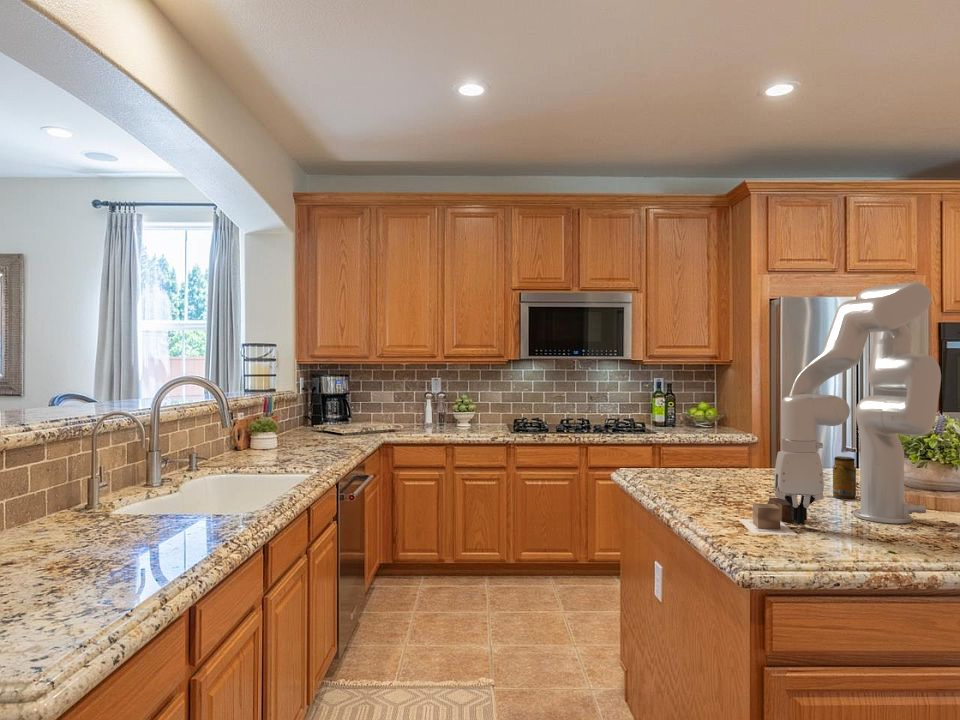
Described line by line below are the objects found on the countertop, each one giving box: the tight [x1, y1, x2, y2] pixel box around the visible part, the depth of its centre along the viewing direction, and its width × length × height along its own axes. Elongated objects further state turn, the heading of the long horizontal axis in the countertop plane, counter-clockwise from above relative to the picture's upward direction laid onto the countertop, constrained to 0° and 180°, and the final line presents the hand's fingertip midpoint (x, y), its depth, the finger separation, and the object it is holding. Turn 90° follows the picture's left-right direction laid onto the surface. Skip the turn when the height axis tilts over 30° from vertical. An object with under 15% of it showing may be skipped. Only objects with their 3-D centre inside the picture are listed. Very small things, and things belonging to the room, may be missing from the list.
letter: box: [738, 518, 798, 536], centre depth 154 cm, size 10×14×1 cm
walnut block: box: [752, 502, 780, 529], centre depth 154 cm, size 5×5×5 cm
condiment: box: [826, 455, 861, 502], centre depth 189 cm, size 7×8×12 cm
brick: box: [766, 497, 795, 523], centre depth 164 cm, size 11×4×5 cm, turn 174°
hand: (799, 523), depth 153 cm, fingers closed
